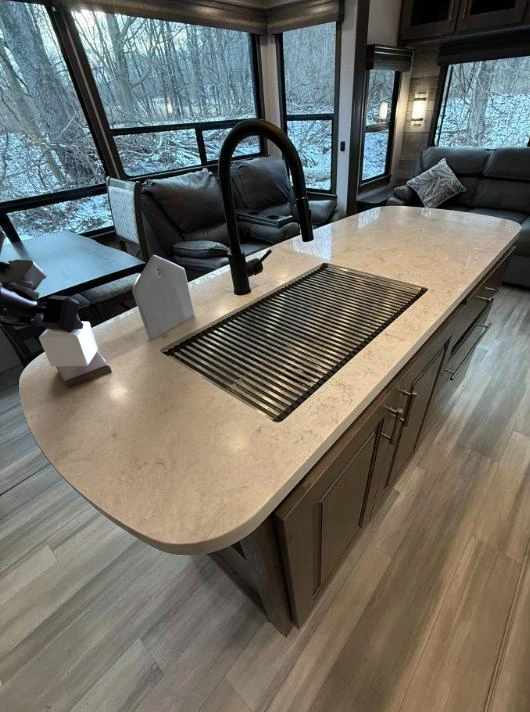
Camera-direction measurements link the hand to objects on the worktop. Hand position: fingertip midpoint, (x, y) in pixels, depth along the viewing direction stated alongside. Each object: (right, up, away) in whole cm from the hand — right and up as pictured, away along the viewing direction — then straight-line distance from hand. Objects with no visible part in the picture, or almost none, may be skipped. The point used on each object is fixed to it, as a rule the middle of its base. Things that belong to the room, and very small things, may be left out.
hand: (66, 324), depth 69 cm
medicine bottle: (0, -7, +3) cm, 8 cm away
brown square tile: (0, -10, +6) cm, 11 cm away
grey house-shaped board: (+11, +4, +23) cm, 26 cm away
